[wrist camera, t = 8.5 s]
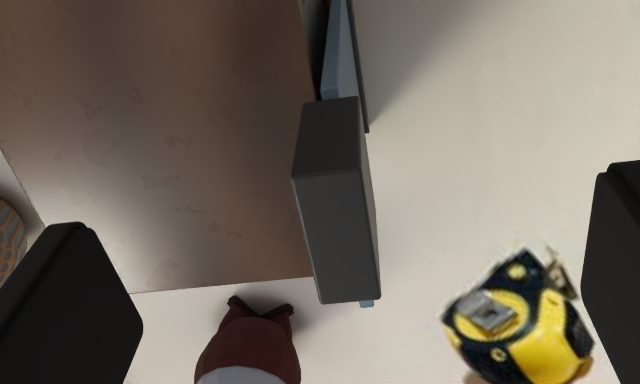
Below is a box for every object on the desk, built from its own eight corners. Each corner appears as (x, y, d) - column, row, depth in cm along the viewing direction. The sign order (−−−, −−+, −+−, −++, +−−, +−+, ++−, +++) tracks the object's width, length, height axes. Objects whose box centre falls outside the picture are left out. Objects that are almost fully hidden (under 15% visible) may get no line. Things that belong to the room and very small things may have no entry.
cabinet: (312, -290, 20) (277, -403, 10) (369, 126, 30) (378, 270, 20) (26, -220, 22) (-240, -262, 12) (168, 153, 32) (85, 298, 22)
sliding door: (354, -22, 25) (359, 155, 11) (375, 140, 29) (396, 402, 16) (321, -16, 25) (285, 165, 11) (347, 144, 30) (344, 405, 16)
